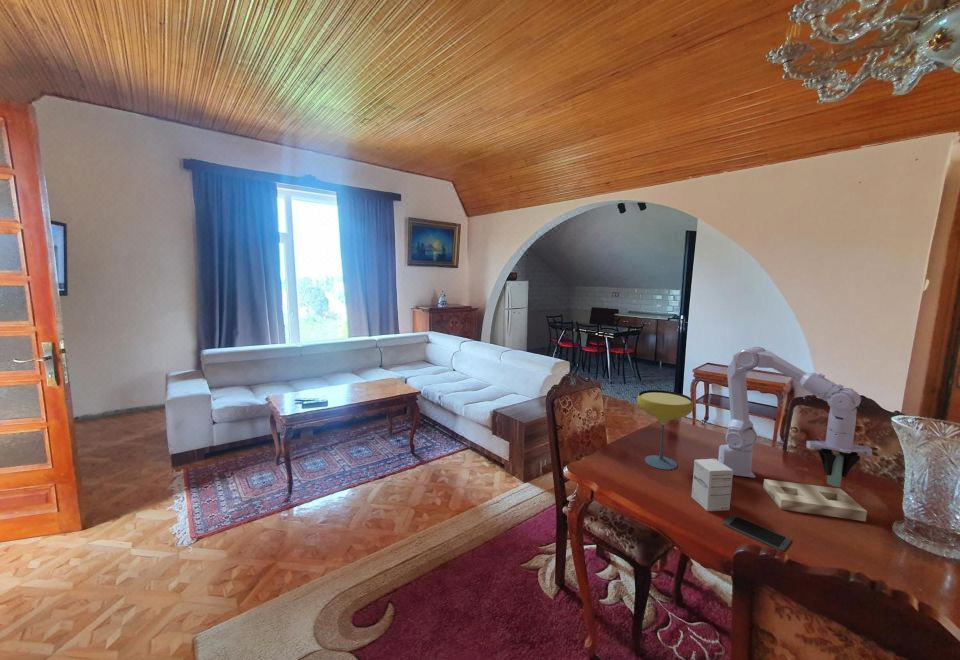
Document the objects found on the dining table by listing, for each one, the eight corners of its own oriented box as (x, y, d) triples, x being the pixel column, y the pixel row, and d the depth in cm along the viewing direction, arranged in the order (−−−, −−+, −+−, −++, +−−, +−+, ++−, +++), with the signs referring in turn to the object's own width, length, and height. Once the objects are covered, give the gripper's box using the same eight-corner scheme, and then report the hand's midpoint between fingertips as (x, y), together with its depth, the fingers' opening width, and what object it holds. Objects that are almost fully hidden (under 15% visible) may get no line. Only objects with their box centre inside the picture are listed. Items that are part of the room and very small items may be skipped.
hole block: (780, 508, 111) (781, 499, 111) (763, 487, 122) (764, 479, 122) (865, 521, 105) (867, 511, 105) (839, 497, 117) (840, 488, 116)
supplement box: (690, 497, 117) (693, 458, 115) (713, 496, 118) (716, 457, 116) (706, 512, 110) (709, 470, 108) (730, 510, 110) (734, 469, 109)
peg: (830, 485, 110) (834, 456, 109) (824, 480, 113) (827, 452, 112) (843, 487, 110) (846, 457, 109) (836, 482, 113) (839, 453, 112)
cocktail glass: (635, 448, 151) (638, 387, 148) (686, 457, 144) (691, 393, 140) (632, 468, 135) (636, 401, 132) (690, 479, 127) (695, 408, 124)
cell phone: (731, 515, 109) (731, 513, 109) (792, 541, 98) (792, 539, 98) (720, 525, 104) (721, 522, 104) (783, 554, 93) (783, 551, 93)
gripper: (817, 432, 108) (812, 477, 109) (882, 438, 103) (875, 485, 105) (804, 423, 114) (799, 466, 116) (864, 429, 110) (858, 473, 112)
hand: (834, 474), depth 111 cm, fingers closed on peg, 3 cm apart
